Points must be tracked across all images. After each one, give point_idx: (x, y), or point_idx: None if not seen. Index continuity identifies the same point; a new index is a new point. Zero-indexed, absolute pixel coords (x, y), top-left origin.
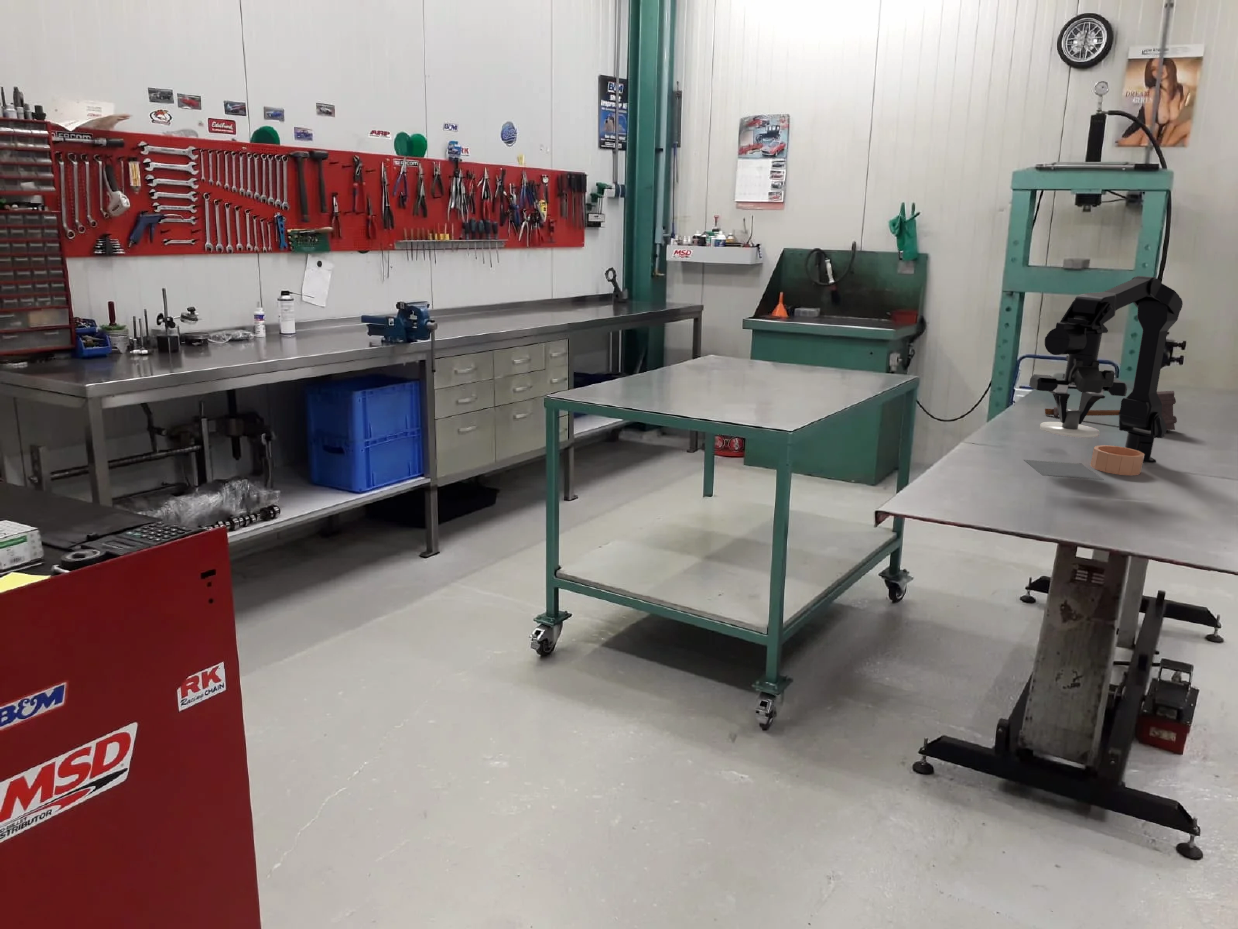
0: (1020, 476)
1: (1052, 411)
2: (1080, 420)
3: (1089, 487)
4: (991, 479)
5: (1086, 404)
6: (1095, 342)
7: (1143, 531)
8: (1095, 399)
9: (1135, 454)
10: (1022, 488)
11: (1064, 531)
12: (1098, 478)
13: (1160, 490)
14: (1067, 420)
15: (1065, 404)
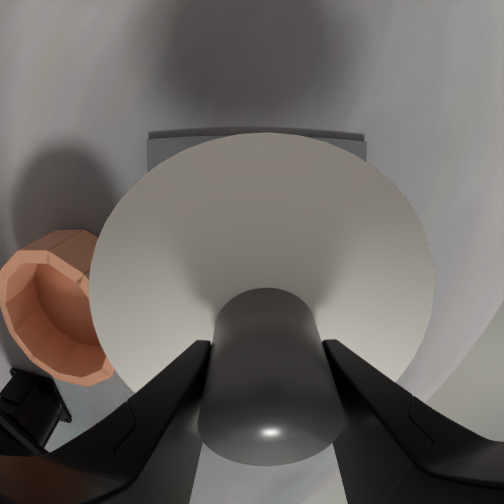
0: (430, 131)
1: None
2: (202, 351)
3: (238, 36)
4: (499, 96)
5: (146, 456)
6: None
7: None
8: (17, 472)
9: (20, 326)
10: (448, 17)
11: None
12: (163, 145)
13: (30, 96)
14: (315, 338)
15: (411, 433)
